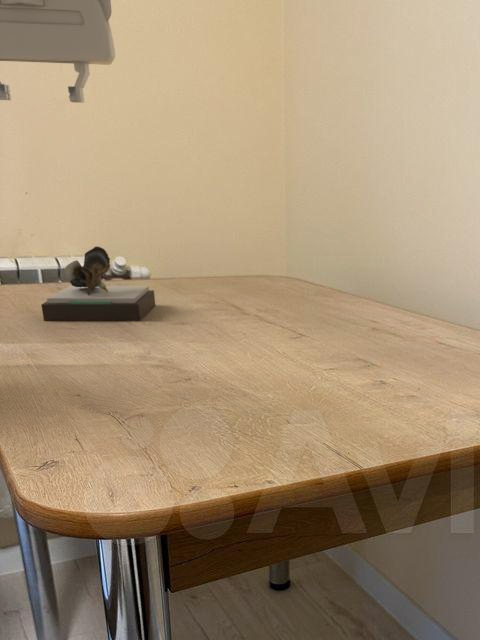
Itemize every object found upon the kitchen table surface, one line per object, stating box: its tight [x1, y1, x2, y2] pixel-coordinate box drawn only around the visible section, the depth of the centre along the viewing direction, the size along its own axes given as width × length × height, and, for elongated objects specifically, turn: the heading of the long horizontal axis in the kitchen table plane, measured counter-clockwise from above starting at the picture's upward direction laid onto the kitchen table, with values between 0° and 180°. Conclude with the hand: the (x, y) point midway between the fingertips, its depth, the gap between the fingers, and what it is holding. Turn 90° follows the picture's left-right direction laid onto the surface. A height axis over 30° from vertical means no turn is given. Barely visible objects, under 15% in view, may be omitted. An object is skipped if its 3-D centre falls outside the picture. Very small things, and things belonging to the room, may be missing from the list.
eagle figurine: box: [64, 246, 111, 295], centre depth 109 cm, size 8×7×9 cm
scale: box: [41, 285, 156, 322], centre depth 111 cm, size 14×14×3 cm
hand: (40, 101), depth 94 cm, fingers open, 8 cm apart
